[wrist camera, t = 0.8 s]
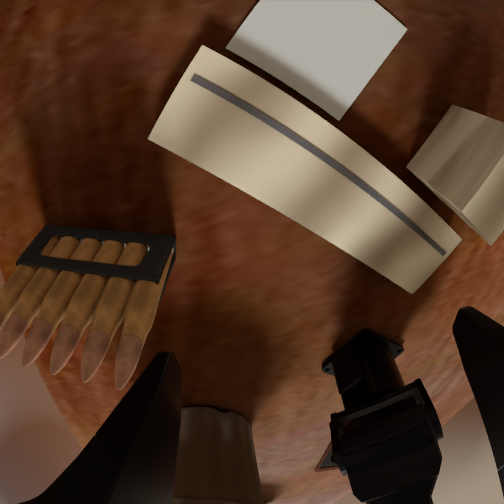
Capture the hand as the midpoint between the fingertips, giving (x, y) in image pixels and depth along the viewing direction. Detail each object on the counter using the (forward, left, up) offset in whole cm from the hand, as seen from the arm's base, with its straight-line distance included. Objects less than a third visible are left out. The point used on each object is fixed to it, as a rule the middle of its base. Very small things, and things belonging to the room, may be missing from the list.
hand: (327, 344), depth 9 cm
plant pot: (-11, +31, -14) cm, 36 cm away
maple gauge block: (-9, -9, -14) cm, 18 cm away
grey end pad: (+3, -9, -14) cm, 17 cm away
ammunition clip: (+8, +10, -14) cm, 19 cm away
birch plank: (-3, -2, -14) cm, 14 cm away
